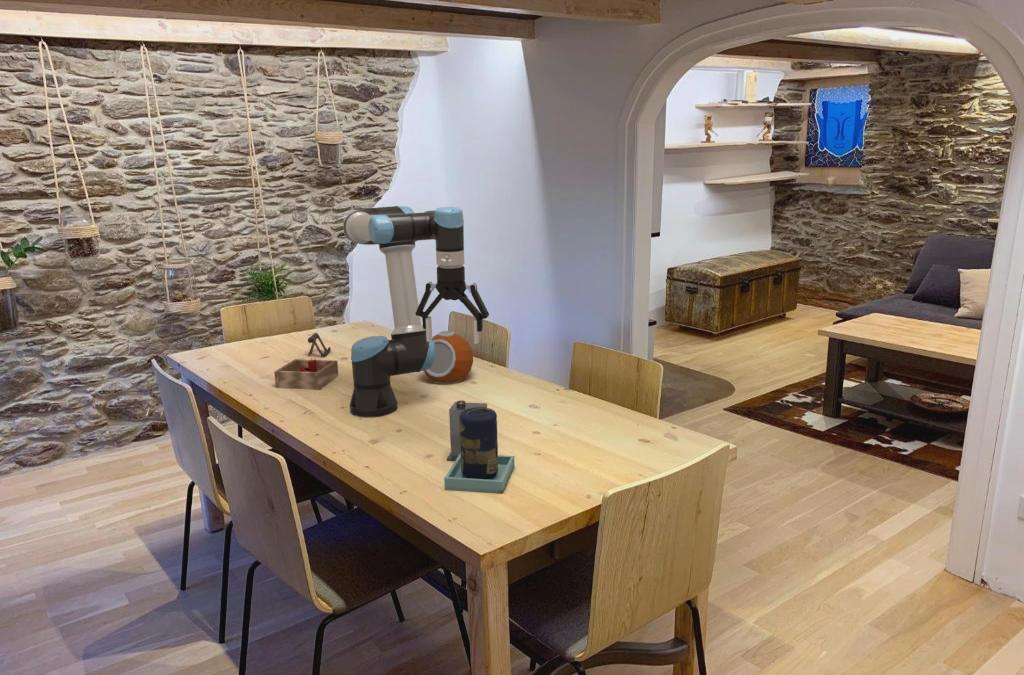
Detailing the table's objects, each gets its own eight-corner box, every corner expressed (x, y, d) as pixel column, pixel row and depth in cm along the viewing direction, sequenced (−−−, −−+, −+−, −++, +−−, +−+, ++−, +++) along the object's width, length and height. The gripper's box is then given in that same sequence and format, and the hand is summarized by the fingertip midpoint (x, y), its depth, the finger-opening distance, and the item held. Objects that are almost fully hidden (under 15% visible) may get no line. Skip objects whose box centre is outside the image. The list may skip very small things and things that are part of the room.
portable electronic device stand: (325, 357, 303) (323, 337, 301) (306, 358, 303) (304, 338, 301) (331, 351, 311) (329, 332, 309) (312, 352, 311) (310, 332, 309)
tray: (444, 489, 184) (444, 478, 183) (460, 463, 199) (460, 453, 198) (502, 493, 181) (502, 481, 180) (514, 466, 196) (514, 456, 195)
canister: (460, 468, 194) (457, 402, 189) (497, 465, 195) (494, 400, 190) (462, 484, 185) (459, 416, 180) (500, 481, 186) (498, 413, 181)
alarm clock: (412, 383, 267) (410, 336, 263) (435, 369, 283) (433, 325, 279) (460, 388, 260) (459, 340, 256) (481, 374, 276) (480, 328, 272)
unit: (446, 460, 201) (444, 406, 197) (454, 449, 208) (452, 396, 204) (486, 463, 198) (484, 408, 195) (492, 451, 206) (491, 398, 202)
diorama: (337, 381, 271) (335, 359, 269) (304, 387, 266) (302, 364, 264) (329, 374, 280) (327, 352, 278) (297, 379, 275) (295, 357, 273)
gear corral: (275, 387, 265) (274, 371, 264) (296, 374, 281) (295, 359, 279) (320, 389, 262) (318, 373, 261) (338, 376, 277) (337, 360, 276)
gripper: (401, 267, 199) (405, 343, 205) (492, 269, 194) (494, 347, 200) (410, 262, 206) (414, 335, 212) (498, 264, 201) (499, 339, 207)
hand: (453, 341), depth 206 cm, fingers open, 13 cm apart
